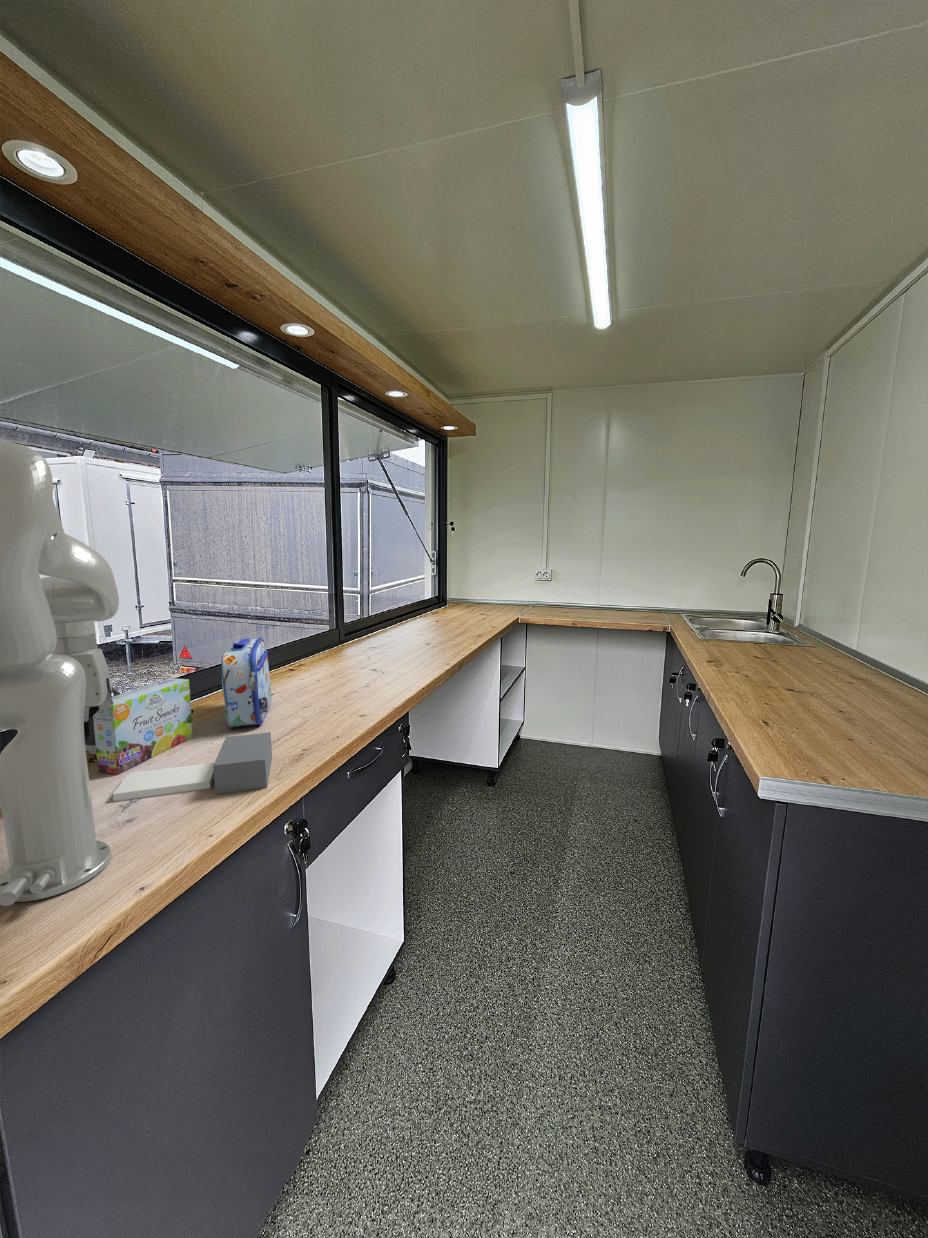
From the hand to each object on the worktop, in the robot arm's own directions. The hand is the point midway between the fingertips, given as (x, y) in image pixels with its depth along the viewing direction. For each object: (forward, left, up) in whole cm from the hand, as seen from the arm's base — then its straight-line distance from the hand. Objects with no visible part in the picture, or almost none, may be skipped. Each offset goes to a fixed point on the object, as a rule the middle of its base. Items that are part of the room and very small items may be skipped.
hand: (82, 740), depth 94 cm
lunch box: (+37, -25, -11) cm, 46 cm away
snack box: (+17, -6, -11) cm, 21 cm away
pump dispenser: (+21, +3, -11) cm, 24 cm away
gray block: (-1, -27, -10) cm, 29 cm away
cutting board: (-1, -14, -11) cm, 17 cm away
